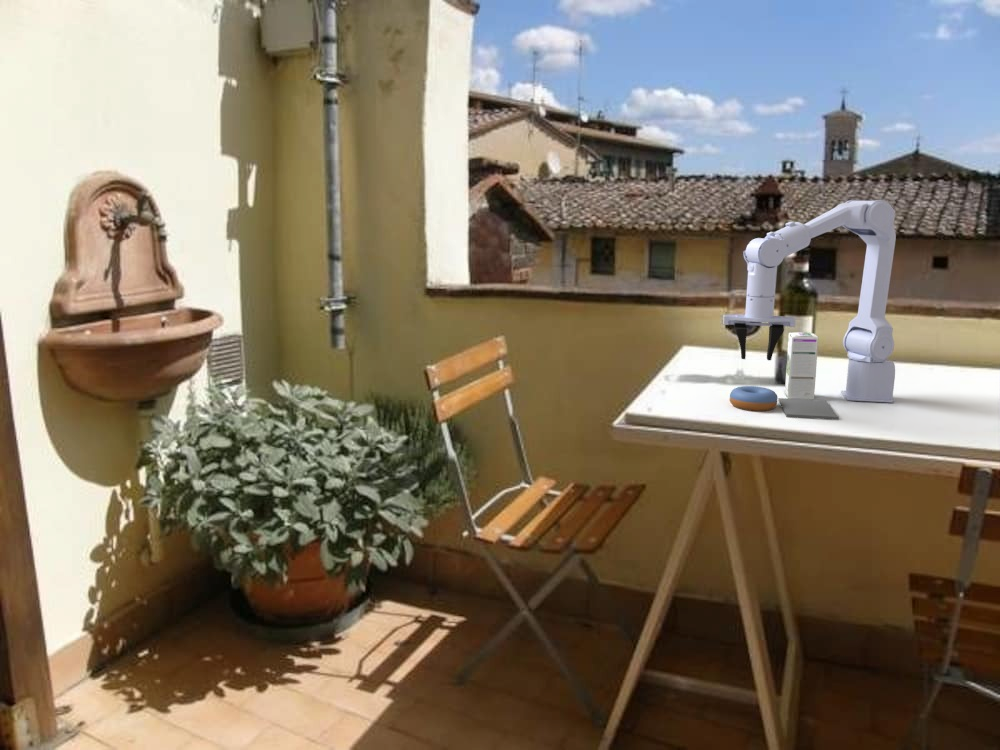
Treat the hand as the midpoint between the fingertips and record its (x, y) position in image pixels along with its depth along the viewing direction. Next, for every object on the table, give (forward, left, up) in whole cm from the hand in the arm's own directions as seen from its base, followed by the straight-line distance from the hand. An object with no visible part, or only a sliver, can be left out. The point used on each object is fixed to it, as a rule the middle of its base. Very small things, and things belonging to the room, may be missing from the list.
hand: (756, 358), depth 169 cm
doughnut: (0, 0, -11) cm, 11 cm away
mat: (-11, +1, -10) cm, 15 cm away
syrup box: (-11, -11, -11) cm, 19 cm away
